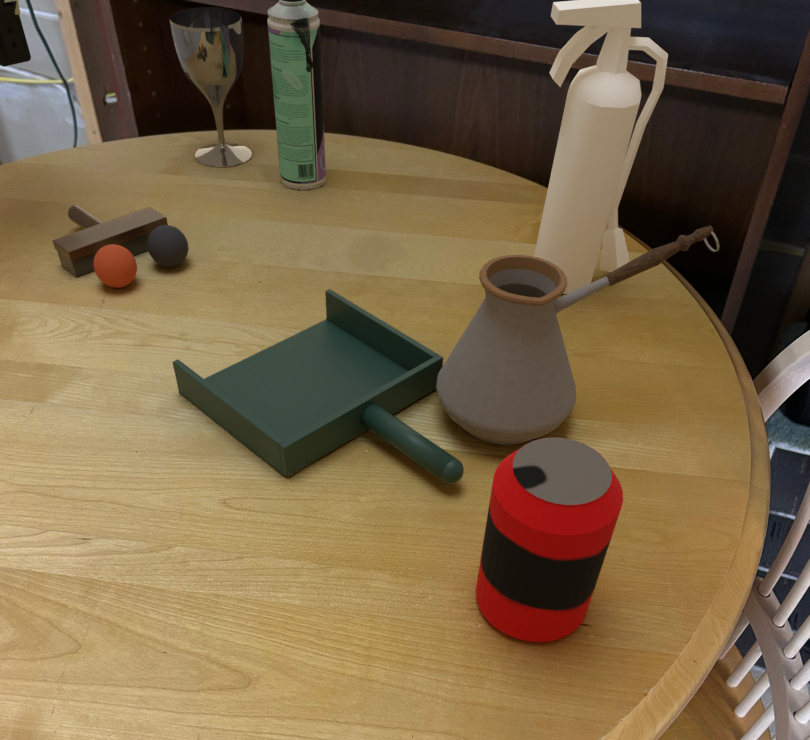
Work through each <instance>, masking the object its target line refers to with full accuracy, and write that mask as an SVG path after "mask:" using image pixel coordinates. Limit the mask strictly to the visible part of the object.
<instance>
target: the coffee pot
mask: <svg viewBox="0 0 810 740" xmlns="http://www.w3.org/2000/svg"><path fill="white" fill-rule="evenodd" d="M710 235H711V236H712V237H713V239H714V241H715V246H716V249H714V248H713V247H712V246H711V245H710V244H709V241H708V239H707V238H708V237H709V236H710ZM702 241H703V242H704V245H706V247H707V248H708V249H709V251H710V252H713V253H716V252H719V251H720V241H719V238H718V236H717V235H716V233H715V232H714V227H713V226H712V225H707V226H703V227H700V228H697V229H696V230H694V232H693V233H691V234H688V235H685V234H680V235H679V236H678V237H677V239H676V241H673V242H670V243H667V244H663V245H660V246H658V247H654V248H651V249H650V250H648V251H646V252H644V253H642V254H641V255H639V256H637V257H635V258H634V259H632V260H630V262H628V263H627V264H625V265H623V266H621V267H619V268H618V269H616V270H614V271H612V272H609V273H607V274H605V275H604V276H603V277H601V278H599V279H597V280H595V281H593V282H592V281H591V283H590V284H588V285H586V286H584V287H582V288H580V289H577V290H575V291H573V292H571V293H569V294H563V293H564V291H565V289H566V287H567V278H566V275H565V274H564V272H563V271H562V270H561V269H560V268H559V267H558V266H556V265H555V264H553V263H551V262H549V261H547V260H544V259H541V258H538V257H534V255H528V254H507V255H502V256H497V257H494V258H492V259H489V260H488V261H487V262H486V263H484V264H483V266H482V267H481V269H480V271H479V275H478V279H479V281H480V284H481V286H482V288H483V289H484V294H485V297H484V299H483V300H482V302H481V304H480V305H479V307H478V308H477V310H476V312H475V313H474V315H473V316H472V318H471V320H470V321H469V323H468V325H467V326H466V328H465V329H464V331H463V333H462V335H461V336H460V338H459V339H458V341H457V342H456V344H455V345H454V347H453V349H452V350H451V352H450V354H449V356H448V357H447V359H446V360H445V362H443V367H442V368H441V370H440V372H439V373H438V377H437V384H436V389H435V390H436V393H437V396H438V399H439V402H440V404H441V407H442V408H443V410H444V412H445V413H446V414H447V416H448V417H449V418H450V420H452V421H453V422H454V423H456V424H457V425H458V426H459V427H461V428H462V429H463V430H464V431H466V432H467V433H468V434H470V435H471V436H473V437H475V438H476V439H479V440H481V441H484V442H487V443H492V444H496V445H497V444H498V445H506V446H508V445H519V444H523V443H527V442H531V441H533V440H534V439H535V440H536V439H539V438H541V437H543V436H545V435H547V434H549V433H550V432H553V431H555V430H557V428H558V427H559V426H560V425H561V424H562V423H563V422H564V421H565V420H566V419H567V418H568V417H569V416H570V414H572V411H573V409H574V407H575V404H576V401H577V389H576V383H575V379H574V375H573V371H572V367H571V363H570V361H569V360H570V359H569V356H568V353H567V349H566V346H565V345H566V344H565V341H564V338H563V334H562V330H561V326H560V323H559V319H558V315H557V314H558V313H560V312H562V311H564V310H566V309H567V308H569V307H571V306H573V305H575V304H577V303H579V302H581V301H582V300H585V299H586V298H588V297H590V296H592V295H595V293H598V292H600V291H602V290H604V289H605V288H607V287H611V286H613V285H616V284H618V283H620V282H623V281H625V280H627V279H629V278H632V277H634V276H637V275H639V274H641V273H644V272H646V271H648V270H650V269H653V268H655V267H657V266H660V265H661V264H662V263H664V262H665V261H666V260H668V259H669V258H671V257H672V256H674V255H675V254H677V253H678V252H680V251H681V252H687V251H689V249H690V247H691V245H693V244H695V243H697V242H702ZM561 295H563V296H561Z"/></svg>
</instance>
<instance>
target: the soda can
mask: <svg viewBox="0 0 810 740" xmlns="http://www.w3.org/2000/svg"><path fill="white" fill-rule="evenodd" d="M623 503H624V491H623V487H622V485H621V482H620V480H619V479H618V477H617V475H616V474H615V472H614V471H613V470H612V468H611V466H610V465H609V463H608V461H607V460H606V458H605V457H604V456H603V455H602V454H601V453H599V452H598V451H597V450H596V449H595V448H593V447H591V446H590V445H588V444H586V443H583V442H580V441H578V440H575V439H570V438H567V437H565V438H564V437H544V438H543V437H542V438H537V439H535V440H534V439H533V440H531V441H529V442H528V443H526V444H524V445H522V447H520V448H519V449H517V450H515V451H513V452H512V453H510V454H508V455H507V456H506V457H504V458H503V459H502V460H501V461H500V463H499V464H498V465H497V466H496V469H495V471H494V473H493V477H492V484H491V492H490V497H489V503H488V509H487V516H486V522H485V528H484V535H483V542H482V548H481V554H480V561H479V567H478V572H477V579H476V585H475V598H476V603H477V605H478V608H479V611H481V614H482V615H483V617H484V618H485V620H487V621H488V622H489V623H490V625H492V626H493V627H494V628H495V629H496V630H498V631H500V632H501V633H503V634H505V635H507V636H508V637H511V638H514V639H517V640H521V641H525V642H531V643H547V642H552V641H557V640H560V639H563V638H566V637H568V636H569V635H571V634H572V633H573V632H575V631H576V630H577V629H578V628H579V627H580V626H581V625H582V624H583V621H584V620H585V618H586V615H587V614H588V609H589V606H590V605H591V604H590V603H591V602H592V601H591V600H592V598H593V595H594V592H595V590H596V589H595V588H596V585H597V584H598V583H597V582H598V580H599V577H600V574H601V571H602V568H603V565H604V561H605V559H606V555H607V553H608V549H609V547H610V544H611V540H612V537H613V535H614V532H615V530H616V529H615V528H616V525H617V522H618V519H619V517H620V513H621V510H622V506H623Z"/></svg>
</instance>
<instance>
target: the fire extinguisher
mask: <svg viewBox="0 0 810 740" xmlns="http://www.w3.org/2000/svg"><path fill="white" fill-rule="evenodd" d="M550 17H551V19H552V21H554V23H555V25H557V26H558V25H559V26H579V27H582V28H581V29H579V30H578V31H577V32H576V33H574V34H573V36H572V37H571V38H569V40H568V41H567V42H566V44H565V45H563V46H562V48H560V50H559V51H558V53H557V55H556V57H555V59H554V62H553V64H552V66H551V68H550V70H549V75H550V77H551V78H552V80H553V81H554V82H555V84H556V85H558V86H559V88H561V87H562V85H563V84H564V81H565V79H566V77H567V75H568V73H569V72H570V69H571V68H572V65H573V64H574V63H575V62H576V61H577V60H578V59H579V58H580V57H581V56H582V54H583V53H584V52H585V51H586V50H587V49H588V48H589V47H590V46H591V45H592V44H594V43H595V42H597V40H599V39H600V38H602V37H603V36H604V35H606V36H605V38H604V41H603V44H602V47H601V49H600V52H599V55H598V58H597V60H596V64H595V65H592V66H588V67H584V68H581V69H579V71H578V72H577V73H576V75H575V76H574V78H573V79H572V81H571V82H570V84H569V87H568V91H567V93H566V94H567V95H566V99H565V104H564V109H563V113H562V119H561V124H560V129H559V133H558V138H557V142H556V148H555V152H554V157H553V162H552V166H551V172H550V177H549V182H548V186H547V187H548V188H547V191H546V196H545V200H544V205H543V209H542V210H543V211H542V216H541V219H540V225H539V229H538V234H537V240H536V244H535V249H534V254H533V257H538V258H541V259H544V260H547V261H549V262H551V263H553V264H555V265H556V266H558V267H559V268H560V269H561V270H562V271H563V272H564V274H565V275H566V278H567V287H566V289H565V291H564V293H563V294H562V295H567V294H569V293H571V292H573V291H575V290H577V289H580V288H582V287H584V286H586V285H588V284H590V283H592V280H593V277H594V274H595V269H596V265H597V262H598V259H599V254H600V251H601V254H600V264H599V270H600V271H604V272H609V273H611V272H612V271H614V270H616V269H618V268H619V267H621V266H623V265H625V264H627V263H628V262H630V261H631V260H630V255H629V252H628V247H627V243H626V239H625V233H624V230H623V228H621V227H619V205H620V203H621V200H622V197H623V193H624V191H625V188H626V185H627V183H628V178H629V176H630V174H631V170H632V167H633V165H634V162H635V159H636V156H637V153H638V150H639V147H640V144H641V142H642V139H643V135H644V133H645V129H646V126H647V124H648V123H649V120H650V118H651V116H652V114H653V112H654V109H655V107H656V106H657V103H658V101H659V99H660V96H661V94H662V93H663V91H664V87H665V81H666V73H667V66H668V58H669V53H668V52H667V51H665V50H664V49H663V48H662V47H660V46H659V45H658V44H657V43H656V42H654V41H653V40H652V38H650V37H646V36H631V34H632V33H631V32H632V29H642V2H641V1H640V0H563V1H562V0H561V1H553V2H552V6H551V11H550ZM630 51H643V52H644V53H646V54H647V55H648V56H650V57H651V58H652V59H653V60H655V61H656V64H655V69H654V70H655V71H654V78H653V83H652V89H651V92H650V93H649V96H648V98H647V100H646V101H645V104H644V106H643V107H642V110H641V113H640V115H639V117H638V119H637V120H636V118H637V115H638V111H639V109H640V104H641V99H642V89H641V88H642V87H641V80H640V79H639V78H637V77H636V76H635V75H633V74H632V73H630V72H629V71H628V70H627V68H628V60H629V52H630Z"/></svg>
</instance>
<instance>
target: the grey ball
mask: <svg viewBox="0 0 810 740" xmlns="http://www.w3.org/2000/svg"><path fill="white" fill-rule="evenodd" d="M147 247H148V250H147V251H148V253H149V256H150V257H151V259H152V260H153V261H154V262H155V263H156V264H158V265H159V266H162V267H165V268H174V267H177V266H179V265H181V264H183V262H184V261H185V260H186V259H187V257H188V254H189V242H188V239H187V237H186V235H185V234H184V233H183V232H182V230H180V229H179V228H177V227H175V226H174V225H169V224H168V225H162V226H158V227H157V228H155V229H154V230H153V231H152V232H151V233H150V235H149V237H148V241H147Z"/></svg>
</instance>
